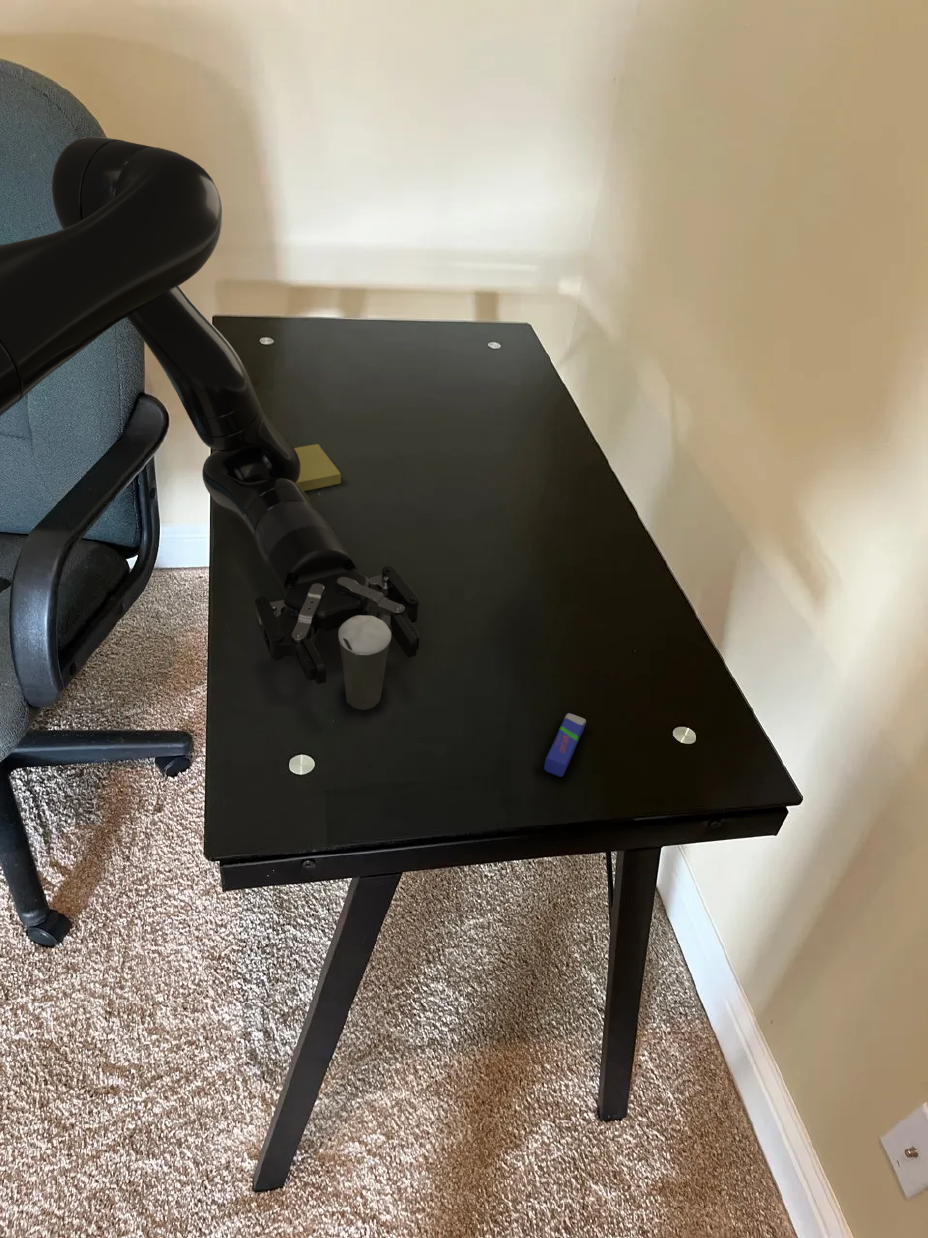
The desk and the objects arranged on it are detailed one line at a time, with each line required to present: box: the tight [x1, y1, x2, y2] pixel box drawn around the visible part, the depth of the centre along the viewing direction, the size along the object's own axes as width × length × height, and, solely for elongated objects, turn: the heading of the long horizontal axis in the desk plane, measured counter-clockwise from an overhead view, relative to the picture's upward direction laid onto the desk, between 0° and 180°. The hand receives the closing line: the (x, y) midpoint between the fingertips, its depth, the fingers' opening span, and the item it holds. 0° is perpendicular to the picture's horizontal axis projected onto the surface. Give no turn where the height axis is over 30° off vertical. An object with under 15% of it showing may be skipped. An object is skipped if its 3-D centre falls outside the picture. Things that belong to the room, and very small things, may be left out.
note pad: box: [293, 443, 342, 492], centre depth 103 cm, size 8×8×2 cm
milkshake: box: [337, 615, 392, 711], centre depth 73 cm, size 4×5×10 cm
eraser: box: [543, 712, 587, 778], centre depth 74 cm, size 2×6×2 cm, turn 156°
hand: (369, 663), depth 71 cm, fingers open, 8 cm apart
